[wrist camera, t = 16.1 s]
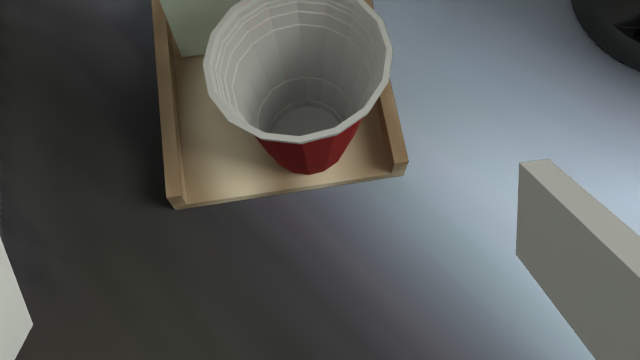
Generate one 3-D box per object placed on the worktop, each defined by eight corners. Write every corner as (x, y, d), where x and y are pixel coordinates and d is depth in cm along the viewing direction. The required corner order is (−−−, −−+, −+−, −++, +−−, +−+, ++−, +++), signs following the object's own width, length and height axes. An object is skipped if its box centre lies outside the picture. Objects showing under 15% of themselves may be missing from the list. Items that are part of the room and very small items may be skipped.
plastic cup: (302, 48, 48) (292, -59, 36) (407, 133, 45) (433, 46, 34) (203, 142, 45) (160, 59, 34) (308, 237, 43) (300, 181, 31)
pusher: (351, 23, 48) (356, -47, 41) (353, 33, 48) (359, -35, 40) (181, 46, 48) (155, -21, 40) (182, 57, 47) (156, -9, 40)
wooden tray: (357, -30, 52) (363, -102, 44) (403, 175, 45) (419, 131, 38) (158, -4, 51) (130, -73, 43) (175, 210, 44) (146, 171, 37)
